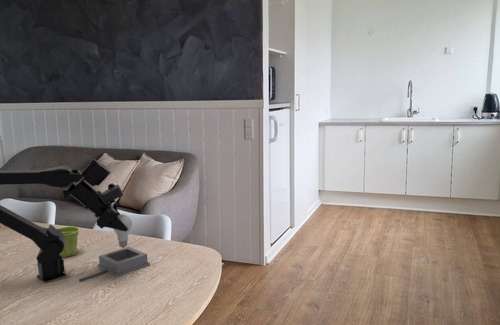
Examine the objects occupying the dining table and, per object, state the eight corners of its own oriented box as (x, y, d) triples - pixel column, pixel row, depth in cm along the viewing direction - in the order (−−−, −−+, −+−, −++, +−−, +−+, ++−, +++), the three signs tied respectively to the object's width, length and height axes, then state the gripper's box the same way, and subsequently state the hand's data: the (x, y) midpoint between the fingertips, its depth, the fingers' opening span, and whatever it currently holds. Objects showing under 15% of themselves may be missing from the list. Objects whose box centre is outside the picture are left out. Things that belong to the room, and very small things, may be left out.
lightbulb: (122, 252, 136) (121, 218, 134) (109, 248, 139) (107, 215, 137) (137, 246, 141) (135, 213, 139) (123, 242, 144) (122, 211, 142)
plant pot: (86, 249, 158) (84, 226, 156) (73, 259, 148) (71, 235, 147) (62, 249, 159) (59, 226, 157) (47, 259, 149) (45, 234, 148)
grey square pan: (89, 287, 126) (88, 275, 126) (70, 276, 135) (69, 264, 134) (149, 265, 142) (149, 254, 141) (129, 256, 150) (129, 245, 149)
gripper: (106, 183, 126) (146, 216, 132) (106, 172, 144) (142, 202, 149) (79, 211, 125) (120, 244, 130) (82, 197, 143) (119, 226, 148)
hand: (126, 227), depth 140 cm, fingers closed on lightbulb, 6 cm apart
